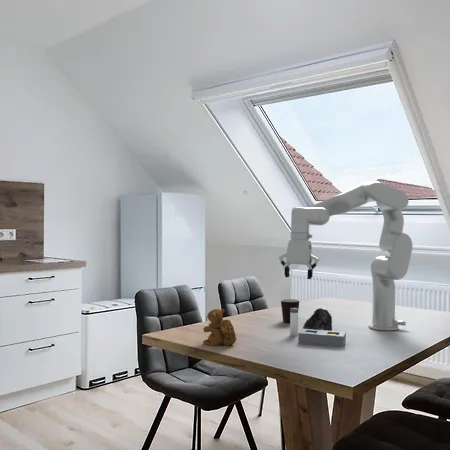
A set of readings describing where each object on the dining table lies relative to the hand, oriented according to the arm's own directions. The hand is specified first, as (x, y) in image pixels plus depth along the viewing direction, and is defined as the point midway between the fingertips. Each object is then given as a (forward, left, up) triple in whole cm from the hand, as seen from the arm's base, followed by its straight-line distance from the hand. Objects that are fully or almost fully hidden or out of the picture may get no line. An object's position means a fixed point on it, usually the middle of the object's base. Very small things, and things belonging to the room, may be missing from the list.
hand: (298, 278), depth 228 cm
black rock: (-7, -9, -24) cm, 26 cm away
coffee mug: (+8, -25, -23) cm, 35 cm away
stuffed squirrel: (+24, +28, -24) cm, 44 cm away
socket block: (-12, +13, -23) cm, 29 cm away
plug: (+1, +3, -23) cm, 23 cm away
